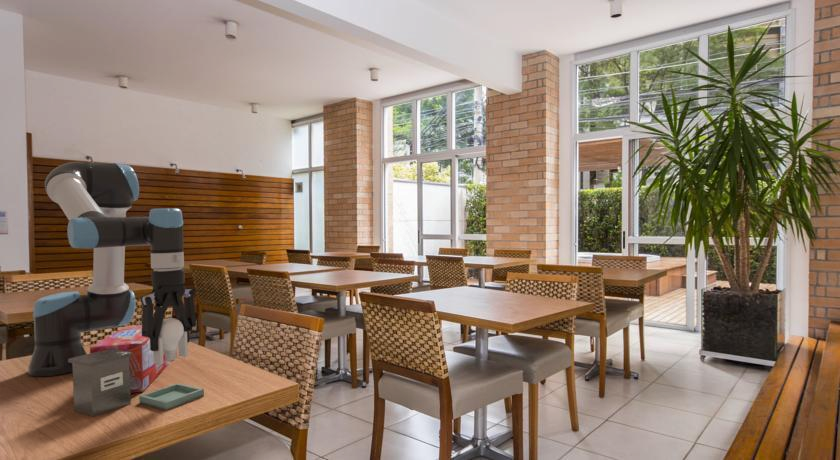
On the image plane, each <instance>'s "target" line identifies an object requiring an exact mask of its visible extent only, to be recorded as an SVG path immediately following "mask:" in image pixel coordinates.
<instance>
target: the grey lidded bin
mask: <svg viewBox="0 0 840 460" xmlns="http://www.w3.org/2000/svg"><path fill="white" fill-rule="evenodd" d="M130 356H133V353H132V352H127V351H122V350H116V349H107V350H103V351H99V352H95V353H90V352H89V353H86V355H82V356H78V357H74V358H70V359H68V362H70V363H72V365H73V372H72V385H73V387H72V388H73V409H74V410H73V411H74V412H77V413H79V414H80V413H81V414H84V415H86V416H90V417H96V416H98V415H101V414H104V413H108V412H110V411H113V410H116V409H120V408H123V407H124V406H128V405H131V393H130V369H129V357H130Z"/></svg>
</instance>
